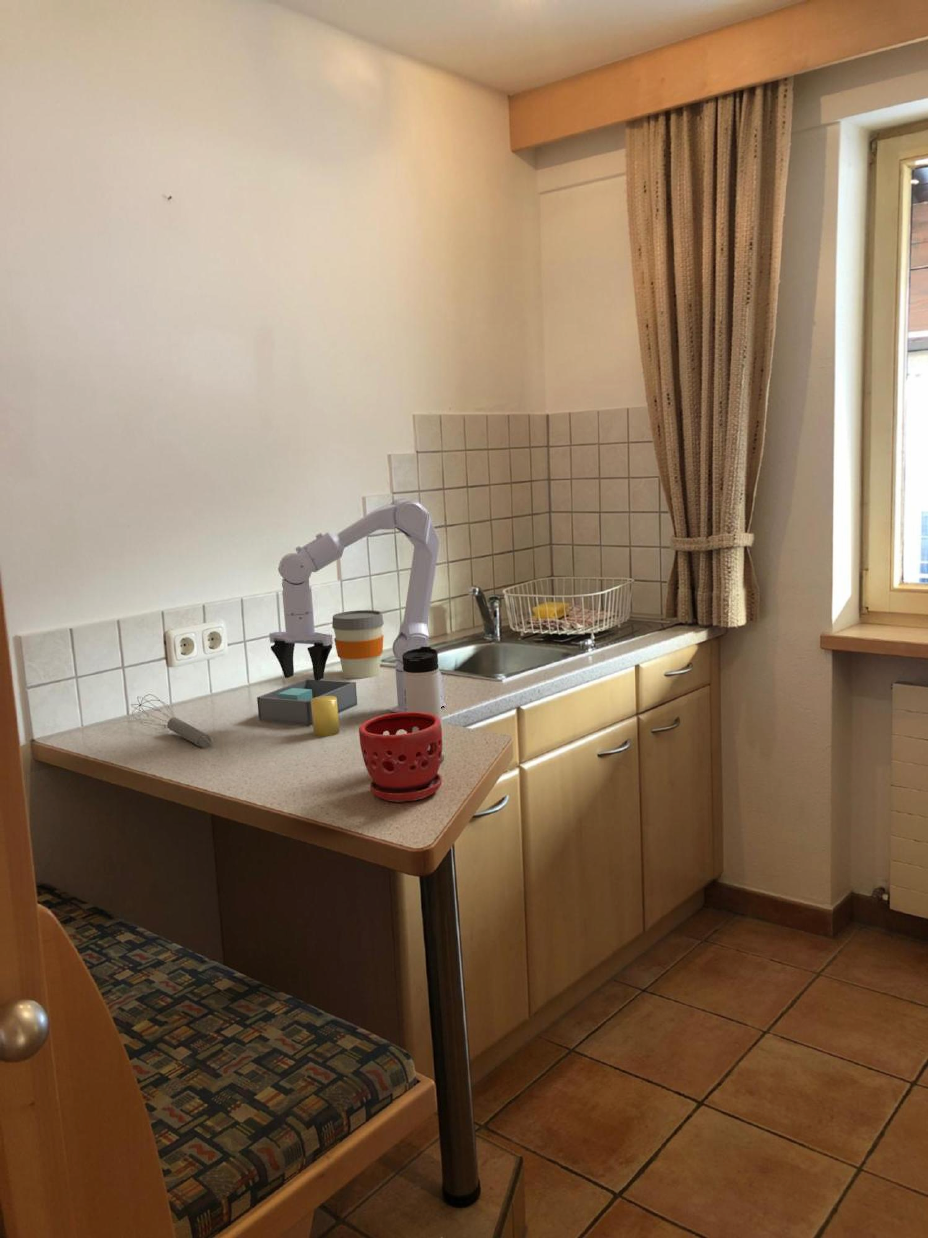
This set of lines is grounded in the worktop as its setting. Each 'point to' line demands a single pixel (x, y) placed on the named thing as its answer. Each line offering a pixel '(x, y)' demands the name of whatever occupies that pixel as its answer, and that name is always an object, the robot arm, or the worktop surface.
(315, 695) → the tote
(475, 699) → the worktop surface
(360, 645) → the reusable coffee cup
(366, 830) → the worktop surface
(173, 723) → the kitchen whisk
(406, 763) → the plant pot
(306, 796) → the worktop surface
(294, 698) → the cube
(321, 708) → the cylinder
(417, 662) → the travel mug
